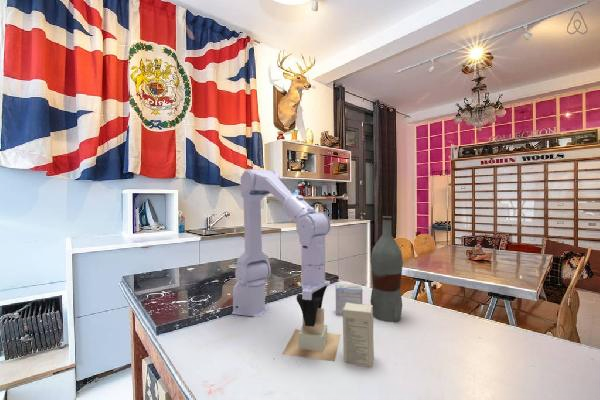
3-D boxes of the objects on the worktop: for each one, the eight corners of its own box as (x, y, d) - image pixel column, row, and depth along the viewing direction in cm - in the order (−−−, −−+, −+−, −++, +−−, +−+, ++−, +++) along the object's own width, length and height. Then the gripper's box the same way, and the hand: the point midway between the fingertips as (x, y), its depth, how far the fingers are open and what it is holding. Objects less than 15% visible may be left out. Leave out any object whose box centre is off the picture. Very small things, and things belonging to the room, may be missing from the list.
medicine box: (360, 311, 90) (361, 284, 90) (362, 318, 86) (362, 289, 86) (335, 310, 91) (335, 283, 91) (335, 316, 87) (335, 288, 86)
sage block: (298, 348, 69) (298, 333, 69) (304, 336, 75) (304, 322, 74) (323, 351, 67) (323, 337, 67) (327, 338, 73) (327, 325, 73)
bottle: (367, 309, 92) (368, 215, 91) (396, 310, 91) (397, 215, 90) (373, 323, 82) (374, 218, 81) (406, 323, 82) (408, 218, 81)
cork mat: (282, 355, 67) (282, 353, 67) (295, 330, 78) (295, 329, 78) (334, 363, 64) (334, 361, 64) (340, 336, 75) (340, 334, 75)
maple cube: (302, 333, 69) (302, 314, 69) (306, 324, 73) (306, 306, 73) (321, 335, 68) (321, 316, 68) (324, 326, 72) (324, 308, 72)
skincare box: (374, 358, 65) (374, 304, 65) (372, 369, 61) (372, 312, 61) (345, 353, 68) (345, 301, 67) (342, 363, 63) (342, 308, 63)
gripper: (324, 272, 62) (324, 334, 63) (333, 257, 76) (333, 308, 77) (293, 270, 64) (293, 330, 64) (307, 255, 78) (307, 305, 78)
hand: (313, 318), depth 71 cm, fingers open, 7 cm apart
